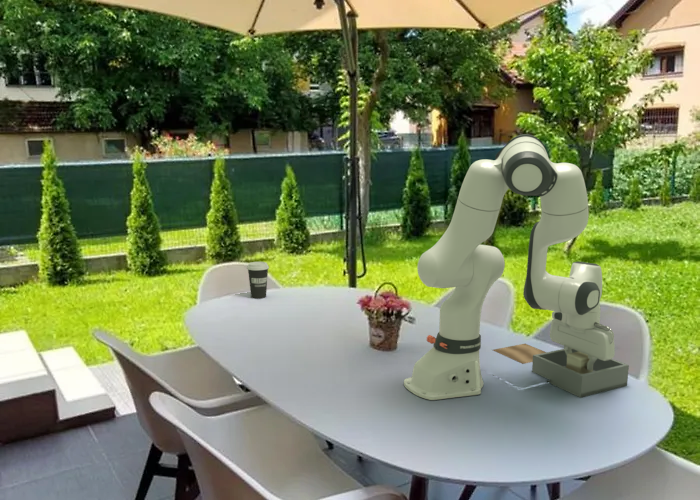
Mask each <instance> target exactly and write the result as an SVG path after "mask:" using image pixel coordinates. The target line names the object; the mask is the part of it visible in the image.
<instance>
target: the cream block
mask: <svg viewBox="0 0 700 500" xmlns="http://www.w3.org/2000/svg"><path fill="white" fill-rule="evenodd" d="M588 361H589V359H588V355H587V354H584V353H582V352H579V351H578V352H573V353H569V354H567V365H566V368H568V369H571V370H573V371H575V372H578V373H580V374H586V373H590V372H593V369H592V370H587V369H585V368H584V366H585V363H587V362H588Z"/></svg>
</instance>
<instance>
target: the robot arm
mask: <svg viewBox="0 0 700 500" xmlns="http://www.w3.org/2000/svg"><path fill="white" fill-rule="evenodd" d="M508 190H510V191H512V193H514V194H517V195H520V196H534V197H540V207H541V215H540V219H539V221H537V222H535V223H534V224H533V226H532V227H531V231H530V234H529V242H528V253H527V264H526V265H527V266H526V277H525V281H524V285H523V298H524V299H525V302H526V303H527V304H528V305H529V307H530V308H531V309H533V310H535V309H536V310H542V311H543V310H545V311H546V310H548V311H551V323H550V328H549V337H550V340H551V341H552V342H554V343H555V344H559V345H561V346H563V349H564V350H565V353H566V355H567V354H569V353H572V350H571V349H574V350H577V351H579V352H582V353H584V354H587V355H588V359H589V361H588V362H587V363H585V366H584V368H585V369H587V370H592V369H593V364H594V362H595V361H596V360H597V358H598V359H600V360H603V361H606V360H611V359H614V357H615V351H616V350H615V348H616V347H615V338H614V337H615V332H614V331H613V330H612V329H611V327H610V326H608V325H603V324H601V323H600V320H601V303H600V301H601V297H602V295H603V294H602V293H603V272H602V267H601V266H600V265H599V264H597V263H593V262H592V263H590V262H585V261H574V262H572V264H571V267H570V271H569V277H566V276H561V275H560V276H559V275H554V274H550V273H549V272H548V271H547V269H546V268H547V259H548V258H547V257H548V249H549V247H550V246H553V245H557V244H562V243H566V242H568V241H571V240H573V239H574V238H578V236H579V235H581V234H582V232H584V230H586V227H587V226H588V223H589V200H588V199H589V198H588V193H587V192H588V191H587V188H586V182H585V179H584V175H583V172H582V170H581V169H580V167H578V166H577V165H576V164H575V163H574V164H573V163H569V162H559V163H557V162H552V161H551V160H550V158H549V154H548V152H547V150H546V146H545V144H544V143H543V142H542V140H540V139H539V138H538V137H537V136H534V135H532V134H528V133H527V134H525V133H524V134H518V135H516V136H515V137H512V138H511V139H510V140H509V141H507V143H506V144H505V145H504V146H503V147H502V148H501V149H500V150H499V151H498V152H497V153H496V154H495V160H493V159H486V158H485V159H479V160H475V161H473V163H472V164H471V165H470V166H469V168H468V170H467V171H466V174H465V176H464V179H463V181H462V184H461V187H460V190H459V194H458V197H457V200H456V204H455V207H454V211H453V214H452V217H451V220H450V223H449V225H448V227H447V229H446V230H445V232H444V233H443V234H442V236H441V237H440V239H438V241H436V243H435V244H434V245H433V246H432V247H430V248H429V249H427V250H426V251H424V252H423V253H421V255H420V257H419V259H418V261H417V274H418V277H419V280H420V281H421V282H422V284H424V285H425V286H426V287H429V288H434V289H435V288H437V289H450V288H454V291H453V292H452V294H451V295H450V296H449V297H448V298H447V299H445V300H444V301H443V302H442V304H441V305H440V308H439V326H438V328H439V329H438V330H439V331H438V333H437V334H436V337H435V336H433V335H430V334H428V335H427V337H426V341H427V342H428V343H430V344H432V346H433V347H432V348H430V349H429V350H428V351H427V352H426V353H425V354H423V356H422V357H421V358H420V359H418V360H417V361H416V362H415V363H414V365H413V369H412V375H411V376H410V377H407V378H405V379H404V380H403V386H404V387H405V389H407V390H408V391H409V392H411V393H412V394H414V395H415V396H417V397H420V398H423V399H425V400H429V401H436V400H437V401H438V400H444V399H445V400H447V399H452V398H460V397H469V396H477V395H481V394H482V388H483V387H484V384H485V383H484V381H483V377H482V375H483V374H482V369H481V362H480V350H481V348H482V347H481V346H482V341H481V340H482V336H481V334H480V333H481V332H480V331H481V329H480V328H481V317H482V309H483V305H484V302H485V299H486V297H487V295H488V293H489V291H490V289H491V287H493V285H494V284H495V283H496V281H498V280H499V279H500V278H501V277H502V275H503V274H504V271H505V265H506V264H505V258H504V255H503V253H502V251H501V250H500V248H498V247H496V246H493V245H488V244H487V245H486V244H482V243H483V242H486V241H487V240H488V239H490V237H491V236H492V234H493V233H494V230H495V227H496V224H497V220H498V217H499V214H500V210H501V206H502V204H503V199H504V196H505V194H506V193H507V191H508Z"/></svg>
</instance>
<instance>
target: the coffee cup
mask: <svg viewBox="0 0 700 500" xmlns="http://www.w3.org/2000/svg"><path fill="white" fill-rule="evenodd" d="M269 267H270V266H269V264H268V262H265V261H253V262H252V261H251V262H249V263H248V265H247V267H246V269H247V272H248V281H249V289H250V297H251V298H252V299H257V300H259V299H260V300H261V299H265V298H267V291H268V290H267V289H268V288H267V286H268V272H269V269H270V268H269Z"/></svg>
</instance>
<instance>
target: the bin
mask: <svg viewBox="0 0 700 500" xmlns="http://www.w3.org/2000/svg"><path fill="white" fill-rule="evenodd" d="M571 350H572V353H573V352H578V351H577V350H574V349H571ZM545 352H546V353H541V354H536V355H533V362H532V367H531V368H532V369H531V373H534V374H536V375H539V376H540V377H543V378H545V379H547V380H546V381H547V383H548V382H549V384H550V383H551V385H553V386H554V387H557V388H560V389H561V390H563V391H566V392H567V393H570V394H572V395H574V396H576V397H579V399H581V398H585V397H588V396H592V395H597V394H600V393H603V392H604V393H605V392H607V391H611V390H616V389H620V388H623V387H626V386H628V379H629V371H630V370H629V368H630V365H629V364H626V363H624V362H622V361H619V360H616V359H614V358H612V359H611V360H606V361H603V360H600V359H598V358H597V360H596V361H595V362H594V364H593V372H590V373H586V374H580V373H578V372H575V371H573V370H571V369H568V368H566V365H567V355H566V353H565V350H564V348H561V349H557V350H552V351H545Z"/></svg>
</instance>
